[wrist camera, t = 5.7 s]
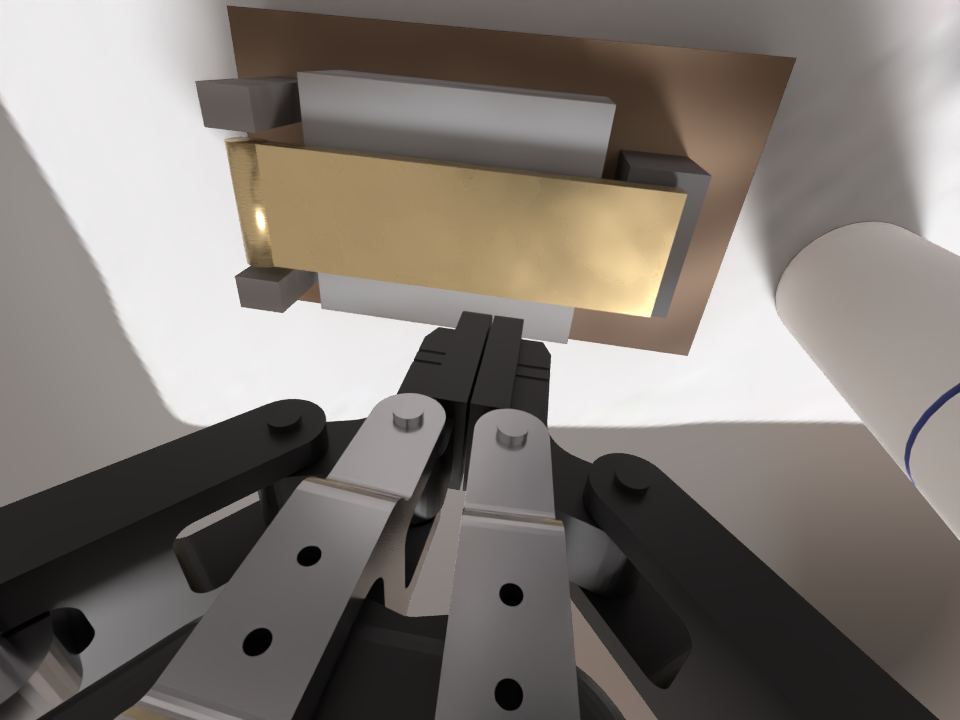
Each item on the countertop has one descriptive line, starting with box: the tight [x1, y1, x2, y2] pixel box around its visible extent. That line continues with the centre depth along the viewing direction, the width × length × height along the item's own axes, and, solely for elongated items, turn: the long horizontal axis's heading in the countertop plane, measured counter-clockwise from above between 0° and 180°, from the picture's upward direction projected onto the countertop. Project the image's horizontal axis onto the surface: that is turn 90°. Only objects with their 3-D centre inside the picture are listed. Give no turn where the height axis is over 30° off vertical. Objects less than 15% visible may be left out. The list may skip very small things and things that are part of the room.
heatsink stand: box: [195, 6, 796, 356], centre depth 23 cm, size 14×24×9 cm, turn 85°
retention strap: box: [225, 137, 687, 317], centre depth 20 cm, size 5×18×2 cm, turn 85°
